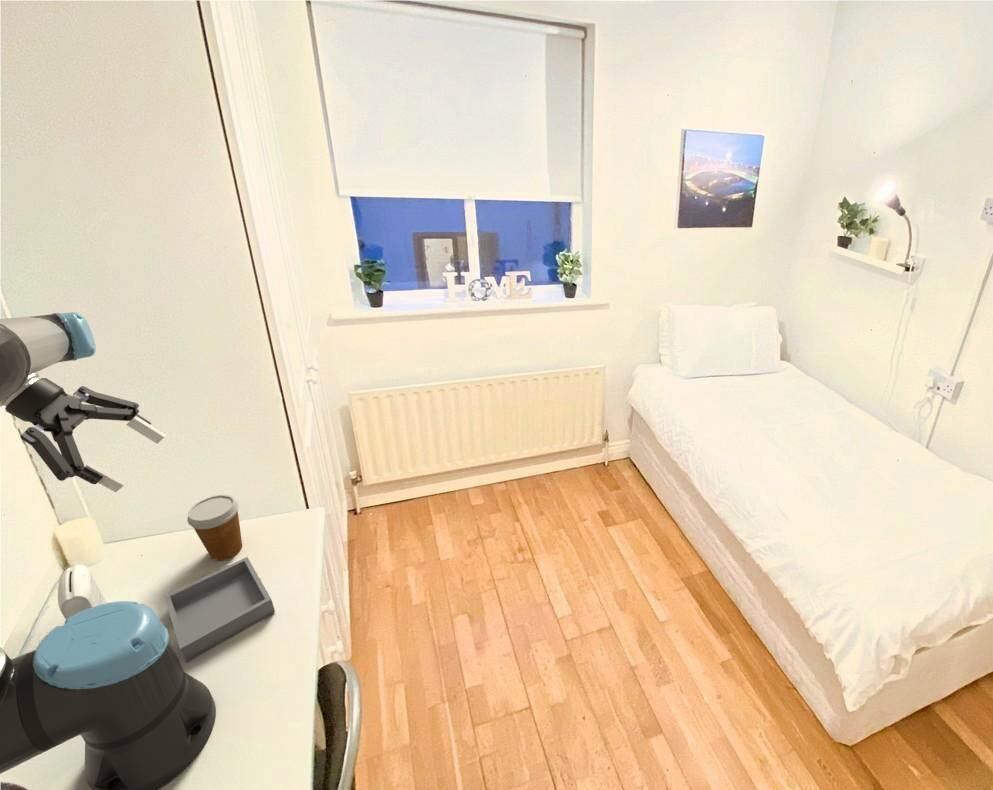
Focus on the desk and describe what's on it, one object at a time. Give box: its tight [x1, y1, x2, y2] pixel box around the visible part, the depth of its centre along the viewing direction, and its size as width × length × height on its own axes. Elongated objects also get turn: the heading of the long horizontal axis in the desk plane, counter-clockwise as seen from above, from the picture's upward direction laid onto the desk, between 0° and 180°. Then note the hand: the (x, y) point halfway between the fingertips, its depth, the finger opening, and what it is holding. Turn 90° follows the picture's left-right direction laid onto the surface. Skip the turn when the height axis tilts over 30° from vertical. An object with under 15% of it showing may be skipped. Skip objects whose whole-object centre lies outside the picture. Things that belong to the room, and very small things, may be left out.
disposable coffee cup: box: [186, 494, 243, 562], centre depth 98 cm, size 10×10×12 cm
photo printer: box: [57, 564, 108, 620], centre depth 81 cm, size 10×4×12 cm, turn 39°
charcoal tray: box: [163, 556, 276, 663], centre depth 85 cm, size 15×15×4 cm
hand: (143, 462), depth 88 cm, fingers open, 13 cm apart
